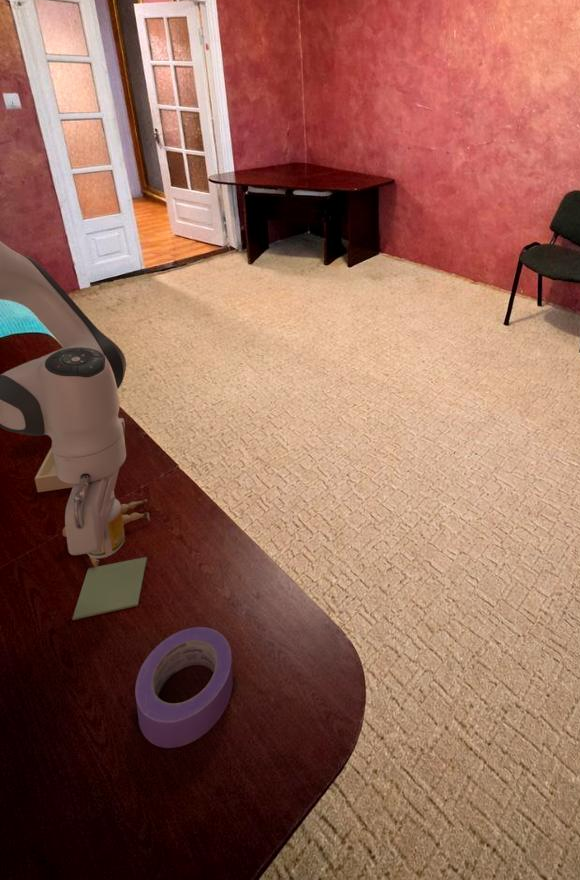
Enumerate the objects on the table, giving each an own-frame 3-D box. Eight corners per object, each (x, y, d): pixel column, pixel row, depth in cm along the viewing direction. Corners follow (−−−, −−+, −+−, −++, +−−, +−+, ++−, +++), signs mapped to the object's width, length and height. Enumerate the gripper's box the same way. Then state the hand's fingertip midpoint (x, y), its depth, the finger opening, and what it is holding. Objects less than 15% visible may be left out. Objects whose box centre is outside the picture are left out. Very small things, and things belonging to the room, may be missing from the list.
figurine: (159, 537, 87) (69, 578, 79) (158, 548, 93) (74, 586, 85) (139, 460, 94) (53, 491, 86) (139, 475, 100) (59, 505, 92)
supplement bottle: (89, 565, 73) (80, 516, 70) (83, 541, 77) (75, 493, 74) (129, 548, 76) (122, 500, 73) (121, 526, 80) (114, 479, 77)
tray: (37, 492, 97) (34, 478, 96) (58, 450, 109) (56, 437, 108) (111, 481, 101) (109, 467, 100) (124, 442, 113) (122, 429, 112)
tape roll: (218, 634, 73) (216, 610, 72) (245, 708, 65) (244, 682, 63) (131, 683, 66) (127, 658, 65) (148, 772, 58) (144, 746, 56)
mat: (72, 620, 74) (72, 618, 74) (88, 570, 82) (88, 568, 82) (138, 605, 77) (137, 603, 77) (147, 558, 85) (146, 556, 85)
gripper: (102, 500, 63) (114, 579, 67) (125, 412, 81) (134, 479, 85) (45, 511, 61) (61, 591, 65) (81, 418, 79) (93, 486, 83)
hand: (103, 527), depth 75 cm, fingers closed on supplement bottle, 5 cm apart
